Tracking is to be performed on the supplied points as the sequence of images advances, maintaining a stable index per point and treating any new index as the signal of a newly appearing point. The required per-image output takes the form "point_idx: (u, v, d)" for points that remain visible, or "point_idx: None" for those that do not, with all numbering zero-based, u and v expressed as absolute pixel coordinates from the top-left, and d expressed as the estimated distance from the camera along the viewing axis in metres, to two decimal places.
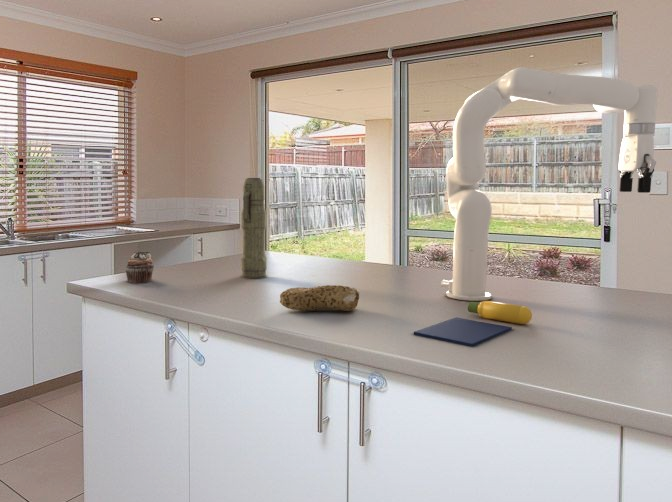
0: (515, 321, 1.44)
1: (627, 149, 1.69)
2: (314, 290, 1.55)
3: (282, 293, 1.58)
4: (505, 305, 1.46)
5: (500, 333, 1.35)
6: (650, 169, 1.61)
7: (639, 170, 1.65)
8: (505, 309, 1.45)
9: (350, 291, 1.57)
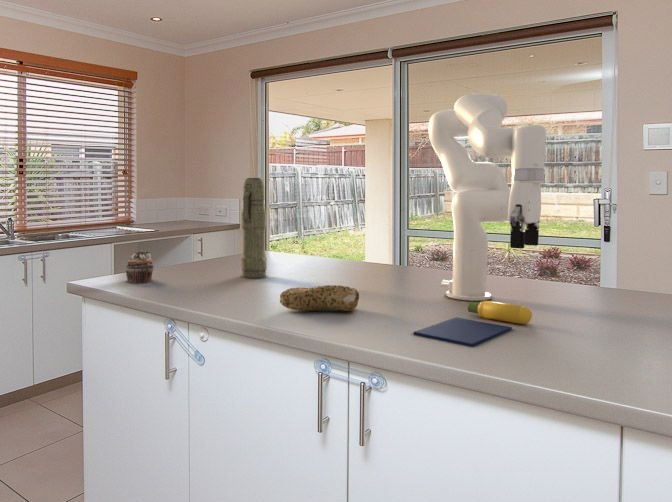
0: (515, 321, 1.44)
1: None
2: (314, 290, 1.55)
3: (282, 293, 1.58)
4: (505, 305, 1.46)
5: (500, 333, 1.35)
6: (512, 222, 1.41)
7: None
8: (505, 309, 1.45)
9: (350, 291, 1.57)
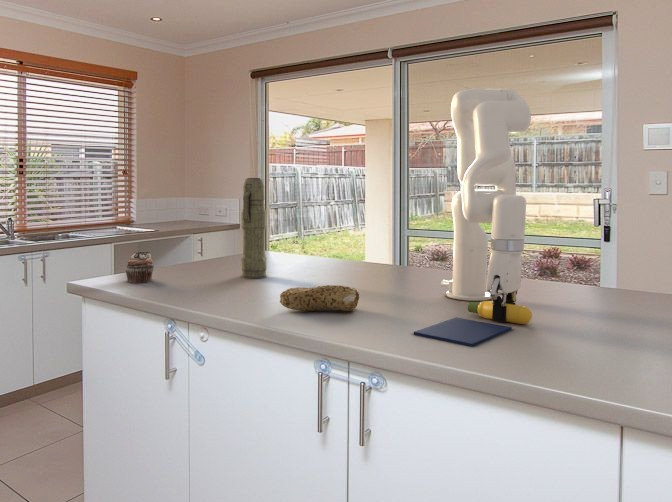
0: (515, 321, 1.44)
1: None
2: (314, 290, 1.55)
3: (282, 293, 1.58)
4: (505, 305, 1.46)
5: (500, 333, 1.35)
6: None
7: None
8: None
9: (350, 291, 1.57)
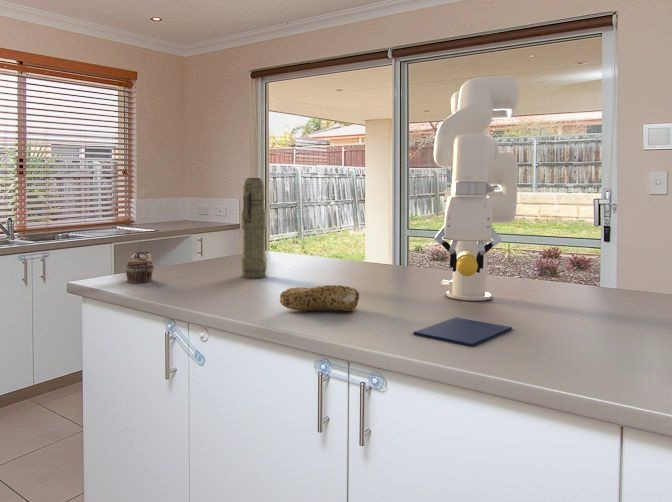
0: None
1: None
2: (314, 290, 1.55)
3: (282, 293, 1.58)
4: (462, 255, 1.34)
5: (500, 333, 1.35)
6: None
7: None
8: (458, 258, 1.34)
9: (350, 291, 1.57)
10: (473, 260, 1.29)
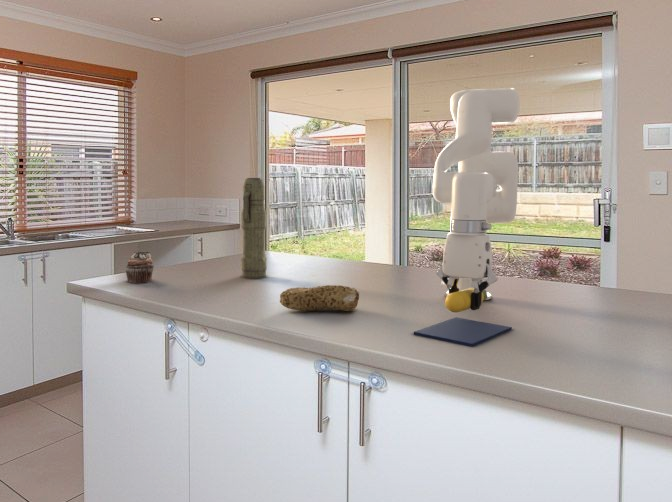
0: None
1: None
2: (314, 290, 1.55)
3: (282, 293, 1.58)
4: None
5: (500, 333, 1.35)
6: None
7: None
8: None
9: (350, 291, 1.57)
10: (458, 297, 1.31)
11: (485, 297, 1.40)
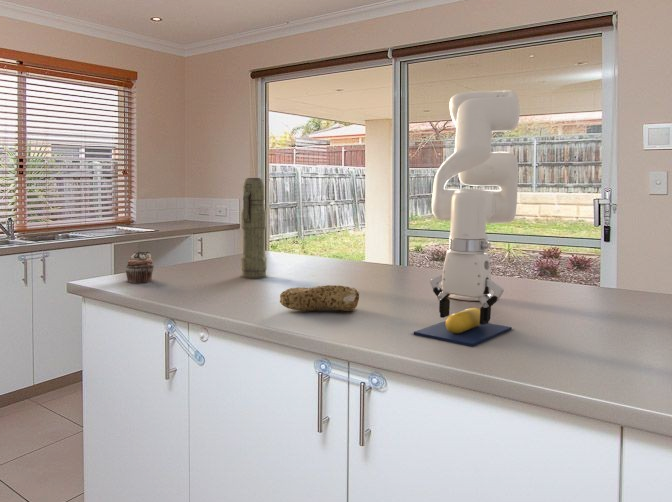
0: None
1: None
2: (314, 290, 1.55)
3: (282, 293, 1.58)
4: (461, 311, 1.36)
5: (500, 333, 1.35)
6: None
7: None
8: None
9: (350, 291, 1.57)
10: (459, 320, 1.31)
11: None
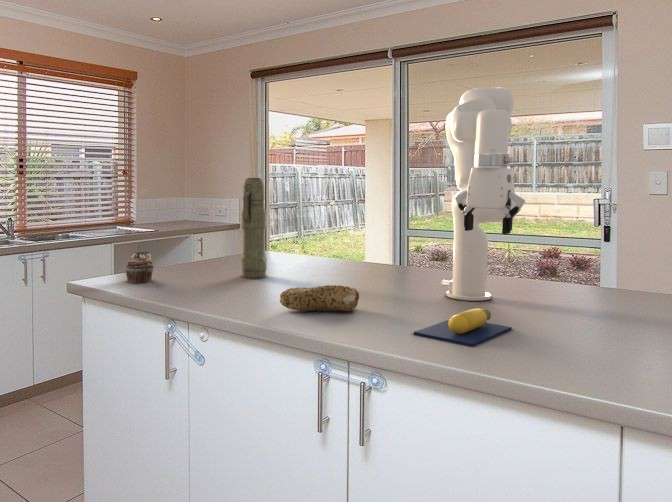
0: None
1: None
2: (314, 290, 1.55)
3: (282, 293, 1.58)
4: (466, 311, 1.35)
5: (500, 333, 1.35)
6: None
7: None
8: None
9: (350, 291, 1.57)
10: (463, 323, 1.30)
11: (487, 319, 1.41)
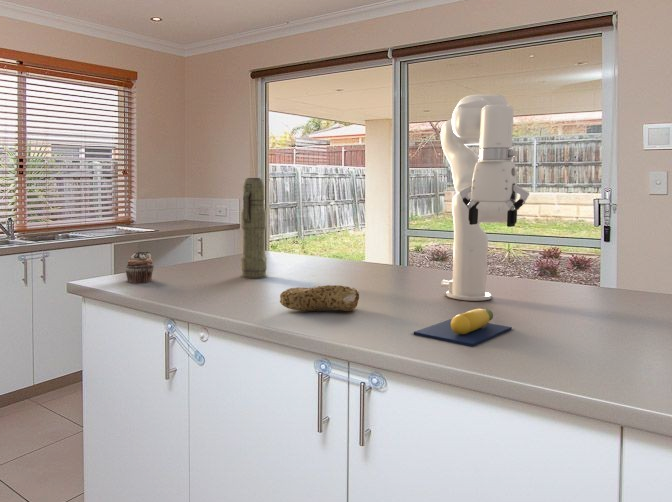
0: None
1: None
2: (314, 290, 1.55)
3: (282, 293, 1.58)
4: (471, 313, 1.34)
5: (500, 333, 1.35)
6: None
7: None
8: (466, 312, 1.35)
9: (350, 291, 1.57)
10: (466, 325, 1.30)
11: (488, 320, 1.41)
